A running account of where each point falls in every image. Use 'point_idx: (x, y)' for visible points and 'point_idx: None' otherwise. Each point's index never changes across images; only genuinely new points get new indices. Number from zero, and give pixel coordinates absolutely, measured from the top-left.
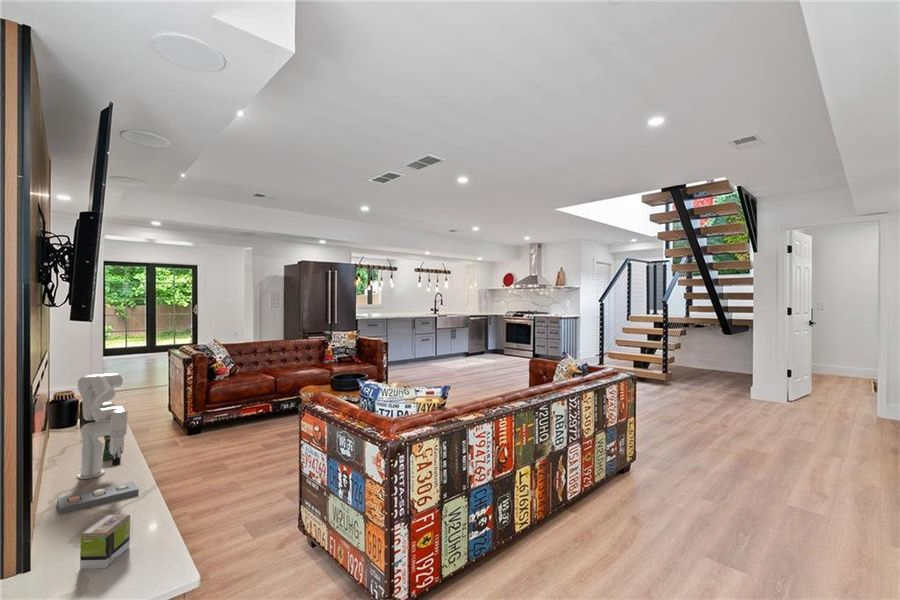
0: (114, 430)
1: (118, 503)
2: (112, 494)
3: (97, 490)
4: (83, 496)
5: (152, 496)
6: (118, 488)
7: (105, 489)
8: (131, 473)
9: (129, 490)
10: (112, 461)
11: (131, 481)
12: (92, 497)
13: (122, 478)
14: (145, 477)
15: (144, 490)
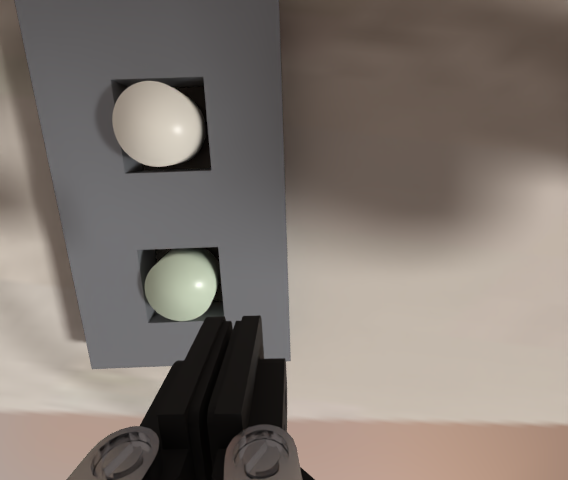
0: None
1: (14, 228)
2: (77, 210)
3: (170, 112)
4: (168, 3)
5: (29, 400)
6: (160, 262)
7: (231, 180)
8: (551, 365)
9: (95, 318)
10: (233, 357)
11: (287, 353)
12: (96, 68)
13: (497, 309)
14: (401, 417)
15: (163, 381)
